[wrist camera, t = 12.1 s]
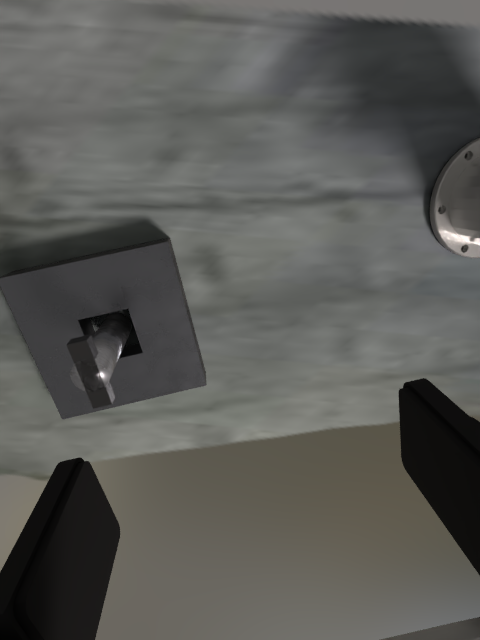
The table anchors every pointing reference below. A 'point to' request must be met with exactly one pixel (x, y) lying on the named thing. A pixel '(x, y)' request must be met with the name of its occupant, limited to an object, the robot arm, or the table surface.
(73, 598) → the robot arm
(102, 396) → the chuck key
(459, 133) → the table surface
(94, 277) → the block
